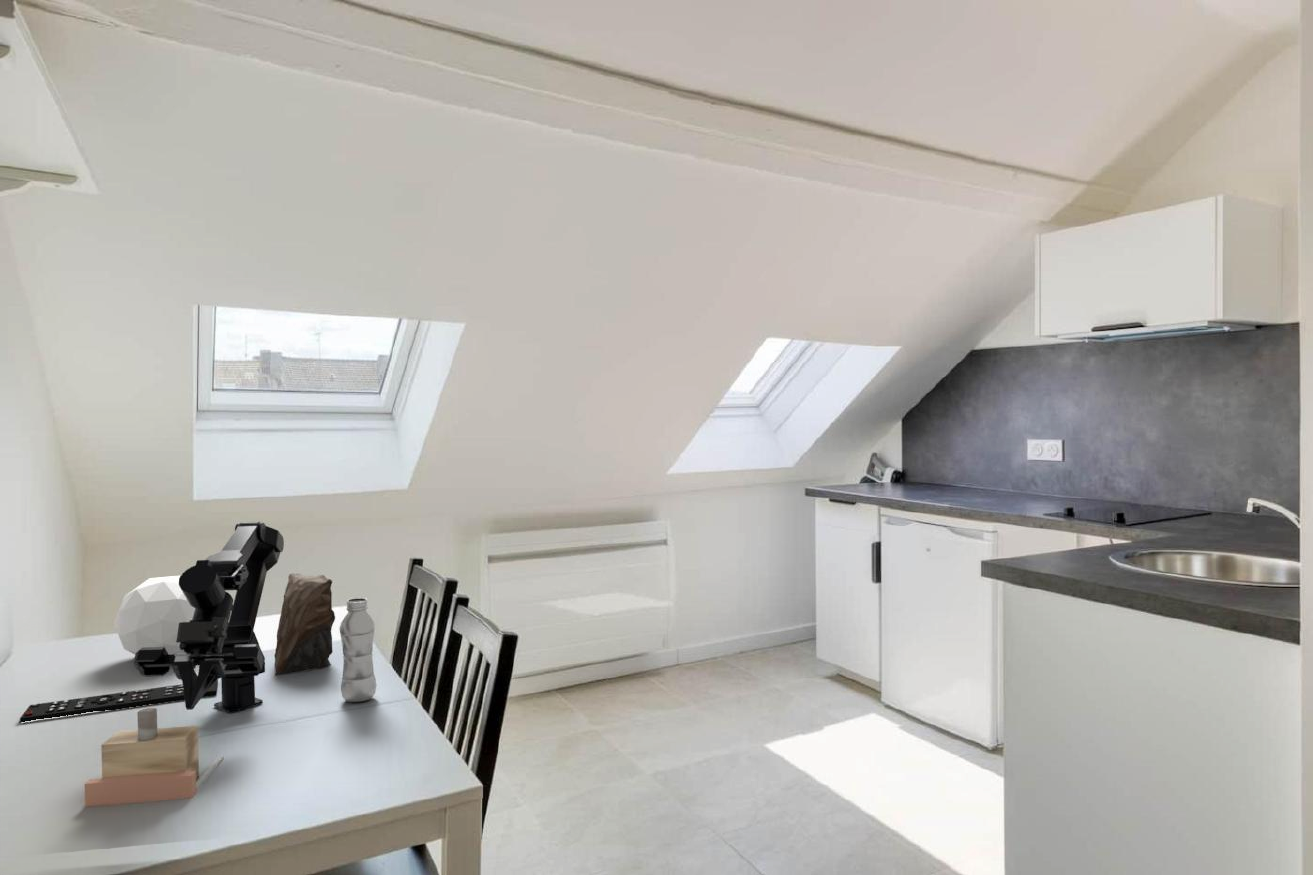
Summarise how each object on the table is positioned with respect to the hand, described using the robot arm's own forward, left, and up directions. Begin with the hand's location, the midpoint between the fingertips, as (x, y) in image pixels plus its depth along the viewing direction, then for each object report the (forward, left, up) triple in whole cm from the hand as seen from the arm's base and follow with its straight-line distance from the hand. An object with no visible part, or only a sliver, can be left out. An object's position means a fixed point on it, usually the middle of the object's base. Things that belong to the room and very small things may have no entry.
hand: (189, 708), depth 130 cm
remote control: (-38, +5, -9) cm, 40 cm away
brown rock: (-31, +37, -9) cm, 49 cm away
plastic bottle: (-1, +32, -9) cm, 34 cm away
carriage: (+8, -9, -7) cm, 14 cm away
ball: (-62, +23, -9) cm, 67 cm away
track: (+7, -7, -9) cm, 13 cm away
